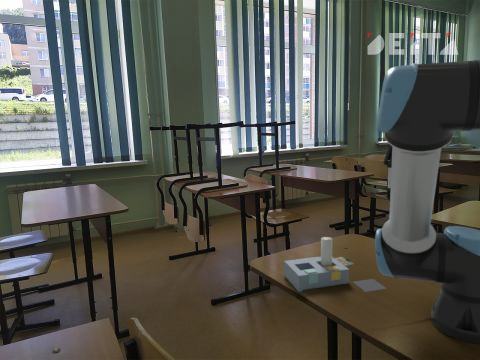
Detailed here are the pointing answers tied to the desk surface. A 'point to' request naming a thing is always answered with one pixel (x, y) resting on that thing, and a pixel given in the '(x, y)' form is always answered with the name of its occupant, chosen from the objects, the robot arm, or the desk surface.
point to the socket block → (314, 273)
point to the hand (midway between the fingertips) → (406, 191)
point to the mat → (369, 285)
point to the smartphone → (344, 261)
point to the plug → (326, 251)
